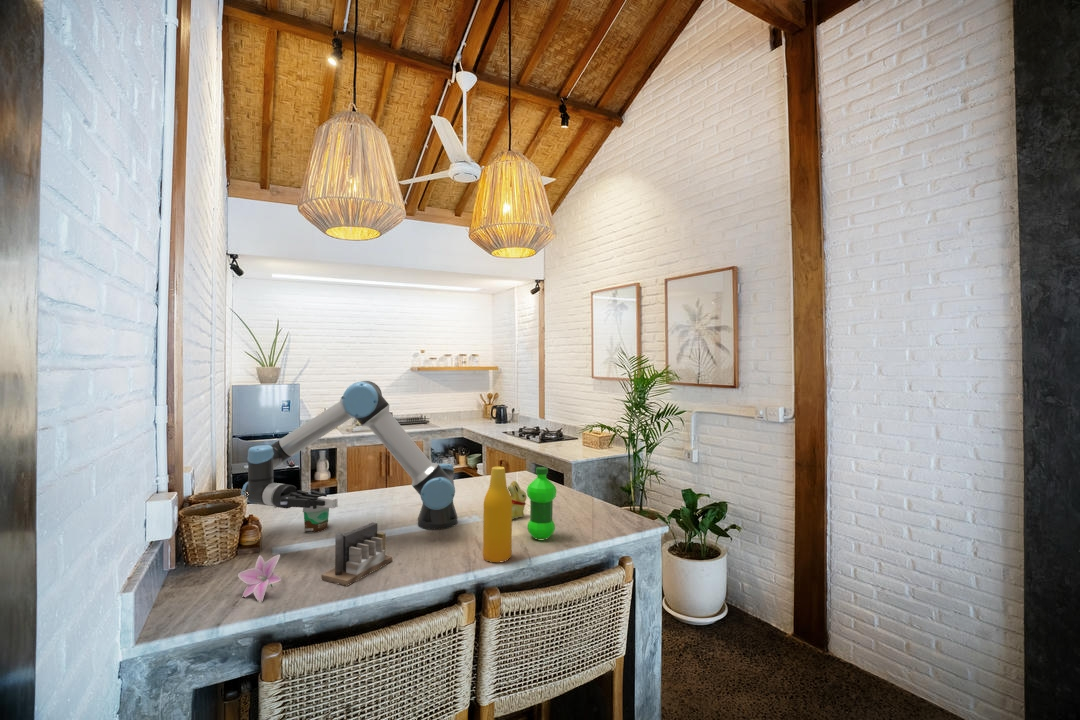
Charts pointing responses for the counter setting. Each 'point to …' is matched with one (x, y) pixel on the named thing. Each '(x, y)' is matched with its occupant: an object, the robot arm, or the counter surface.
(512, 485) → the chocolate bunny
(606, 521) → the counter surface
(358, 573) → the grey model on base
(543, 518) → the plastic bottle
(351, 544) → the grey stone panel
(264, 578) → the lily
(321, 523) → the food container
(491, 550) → the beer bottle
